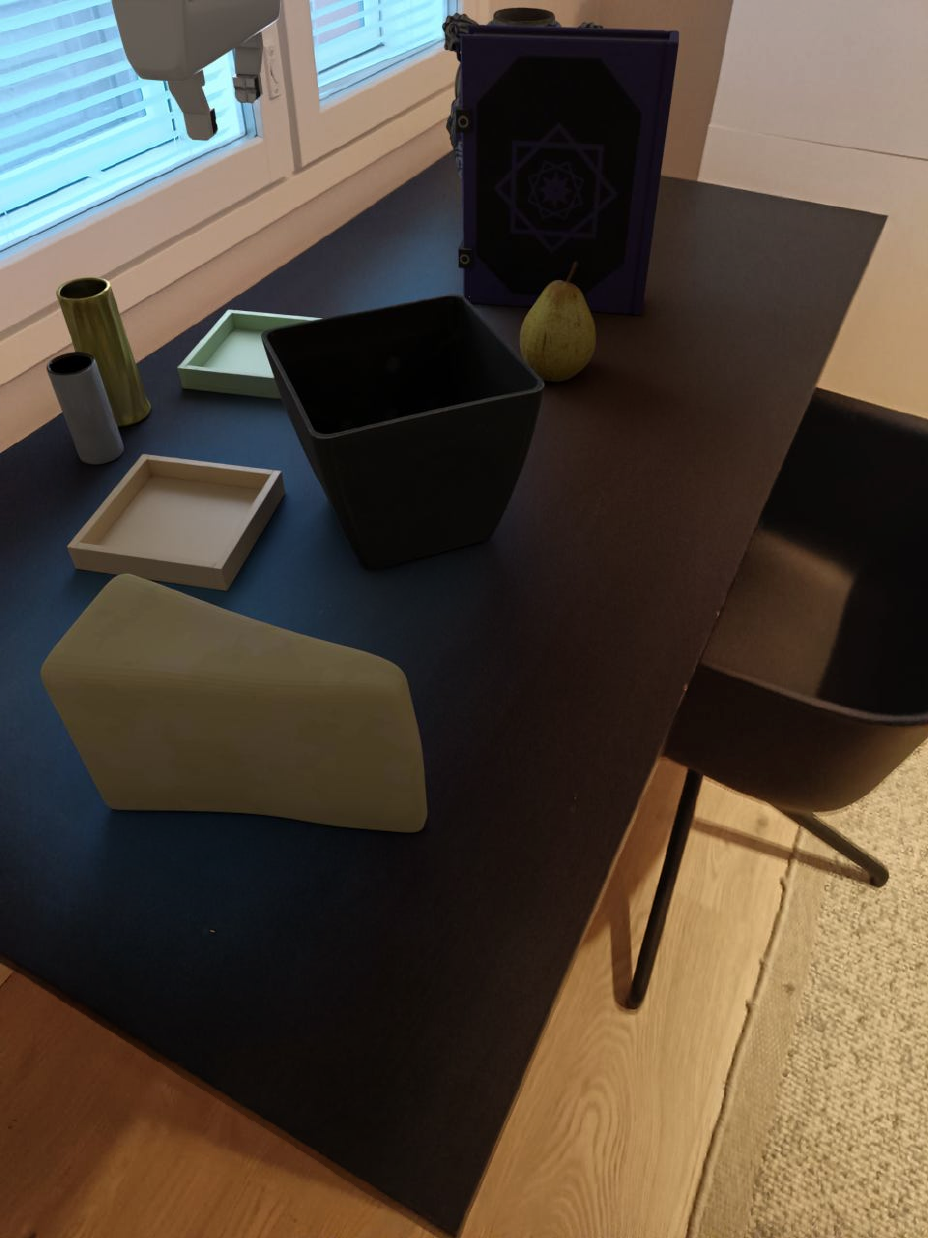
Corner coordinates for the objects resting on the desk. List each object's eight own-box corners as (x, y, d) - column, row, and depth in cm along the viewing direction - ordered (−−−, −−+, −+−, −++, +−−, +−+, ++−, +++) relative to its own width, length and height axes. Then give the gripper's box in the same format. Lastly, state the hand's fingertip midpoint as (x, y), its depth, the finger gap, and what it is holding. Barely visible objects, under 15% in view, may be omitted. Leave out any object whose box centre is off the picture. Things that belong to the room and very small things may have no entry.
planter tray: (75, 568, 80) (66, 546, 79) (149, 475, 91) (142, 453, 89) (227, 591, 78) (221, 569, 76) (285, 492, 88) (281, 470, 86)
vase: (98, 433, 96) (54, 306, 86) (90, 405, 100) (47, 281, 90) (155, 420, 98) (119, 294, 88) (146, 393, 102) (109, 270, 92)
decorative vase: (596, 220, 136) (617, 0, 117) (579, 270, 124) (599, 33, 104) (460, 209, 140) (458, -6, 120) (430, 257, 127) (422, 26, 108)
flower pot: (285, 484, 89) (256, 325, 77) (461, 443, 94) (459, 288, 82) (338, 606, 77) (314, 439, 65) (538, 551, 82) (549, 387, 70)
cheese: (446, 769, 64) (440, 622, 54) (403, 889, 58) (387, 748, 47) (170, 707, 69) (115, 560, 58) (102, 811, 62) (25, 667, 52)
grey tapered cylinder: (71, 452, 94) (37, 362, 86) (111, 435, 96) (81, 346, 88) (91, 470, 91) (58, 379, 84) (132, 452, 93) (103, 363, 86)
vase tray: (182, 388, 103) (177, 367, 101) (232, 328, 113) (228, 309, 111) (303, 401, 100) (299, 380, 98) (342, 339, 110) (340, 319, 109)
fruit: (529, 394, 101) (534, 291, 92) (509, 355, 107) (512, 256, 99) (602, 386, 102) (614, 283, 94) (578, 347, 108) (587, 248, 100)
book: (643, 295, 118) (679, 28, 97) (641, 317, 114) (678, 43, 93) (467, 283, 121) (465, 22, 100) (459, 304, 117) (455, 36, 96)
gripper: (205, -135, 66) (237, 79, 75) (67, -100, 51) (129, 158, 61) (287, -133, 65) (309, 83, 75) (171, -97, 51) (217, 164, 60)
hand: (227, 118), depth 68 cm, fingers open, 8 cm apart
